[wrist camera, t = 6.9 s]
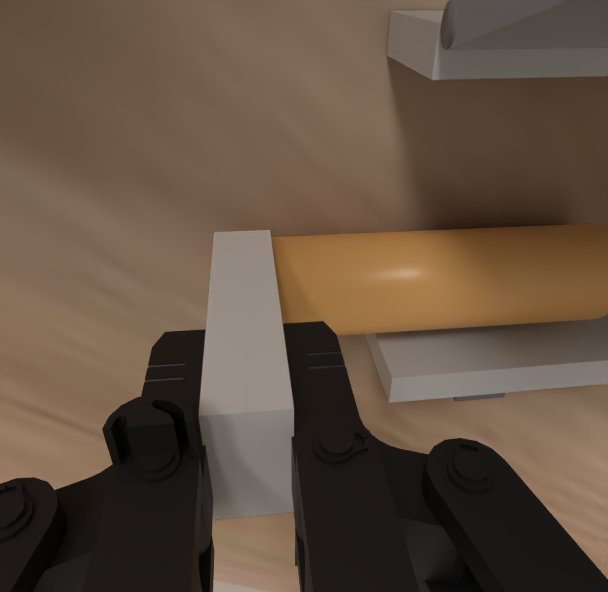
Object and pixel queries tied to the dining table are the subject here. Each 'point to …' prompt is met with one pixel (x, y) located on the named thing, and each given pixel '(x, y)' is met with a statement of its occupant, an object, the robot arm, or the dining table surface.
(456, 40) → the cover
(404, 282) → the orange cylinder rod
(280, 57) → the dining table surface
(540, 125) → the dining table surface
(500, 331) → the hinged pencil case
